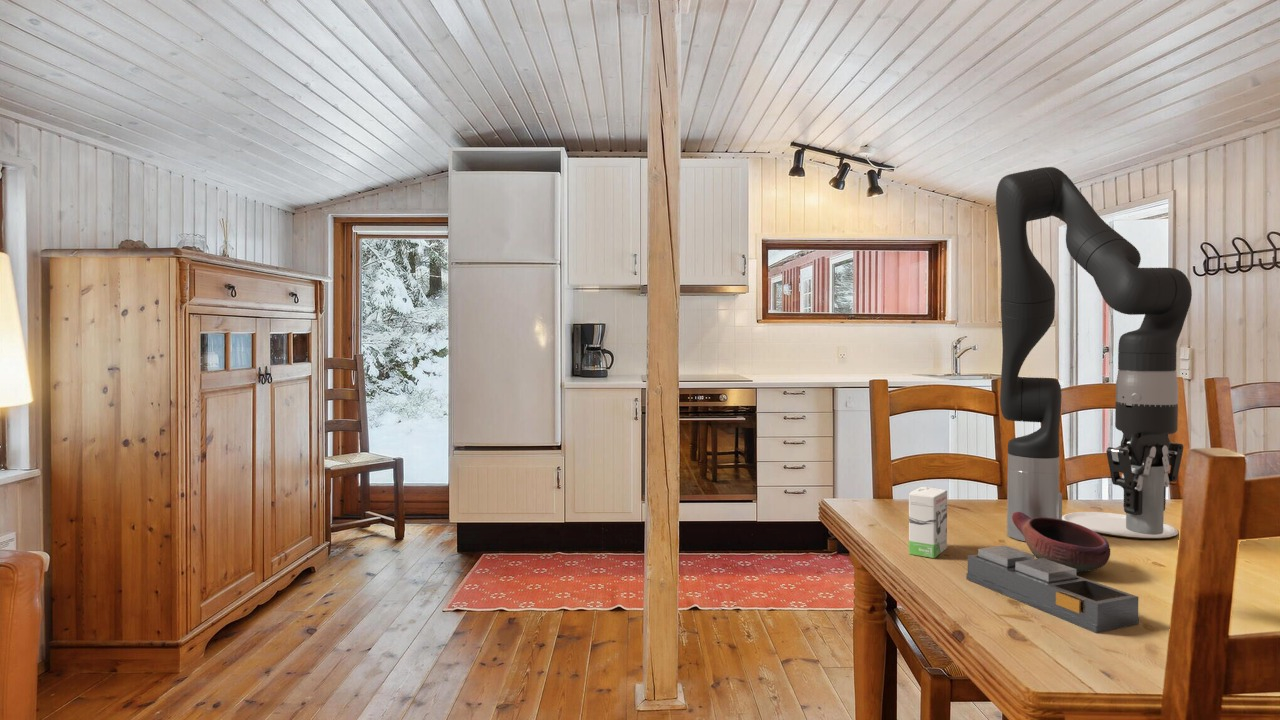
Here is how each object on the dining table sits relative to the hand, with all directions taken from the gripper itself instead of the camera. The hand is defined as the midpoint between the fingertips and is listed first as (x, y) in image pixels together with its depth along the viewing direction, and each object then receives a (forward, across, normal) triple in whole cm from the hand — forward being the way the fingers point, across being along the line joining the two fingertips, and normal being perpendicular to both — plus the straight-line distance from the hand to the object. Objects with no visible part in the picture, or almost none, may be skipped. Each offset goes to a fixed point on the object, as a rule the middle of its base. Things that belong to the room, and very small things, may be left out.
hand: (1144, 511), depth 101 cm
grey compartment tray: (+14, +12, -7) cm, 20 cm away
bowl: (+15, -4, -18) cm, 24 cm away
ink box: (+15, +10, -33) cm, 38 cm away
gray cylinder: (+3, 0, 0) cm, 3 cm away
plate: (+16, -42, -32) cm, 55 cm away
